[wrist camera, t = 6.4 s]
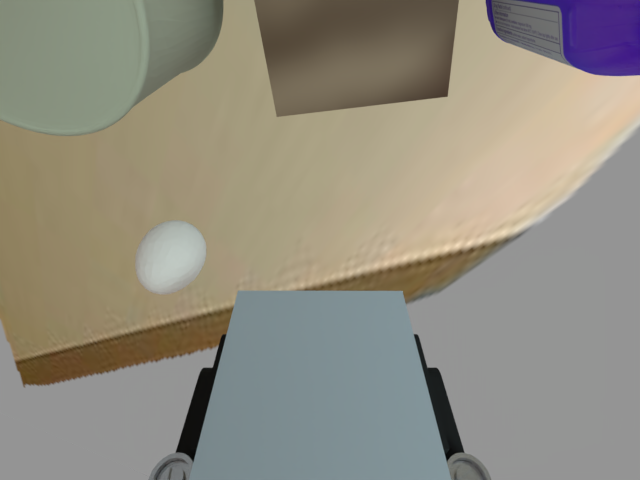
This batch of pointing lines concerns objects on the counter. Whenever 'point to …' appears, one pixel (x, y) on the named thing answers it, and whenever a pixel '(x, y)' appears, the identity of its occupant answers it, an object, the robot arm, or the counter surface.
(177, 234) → the egg
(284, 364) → the grey cube
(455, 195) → the counter surface
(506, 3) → the bottle
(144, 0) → the can
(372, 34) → the walnut block
